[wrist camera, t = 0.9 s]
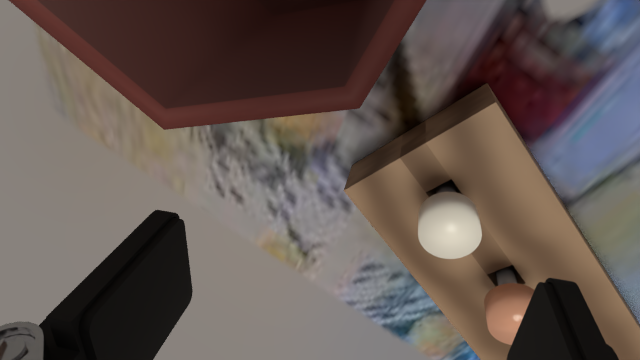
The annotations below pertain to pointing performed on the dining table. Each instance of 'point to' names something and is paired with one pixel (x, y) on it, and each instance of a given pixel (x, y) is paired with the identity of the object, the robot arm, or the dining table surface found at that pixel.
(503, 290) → the terracotta knob
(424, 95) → the dining table surface
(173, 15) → the bucket
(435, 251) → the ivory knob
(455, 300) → the tan flat board
